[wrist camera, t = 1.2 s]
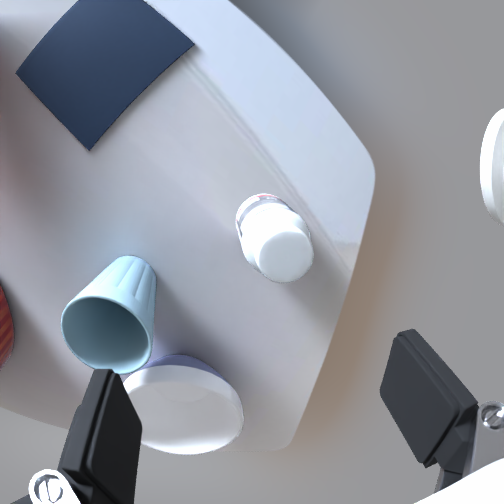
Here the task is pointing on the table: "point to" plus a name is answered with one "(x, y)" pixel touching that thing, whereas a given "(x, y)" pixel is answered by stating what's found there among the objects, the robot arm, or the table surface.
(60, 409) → the table surface
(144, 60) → the placemat
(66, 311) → the cup
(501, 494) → the robot arm
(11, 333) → the planter
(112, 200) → the table surface
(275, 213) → the pill bottle
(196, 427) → the bowl
